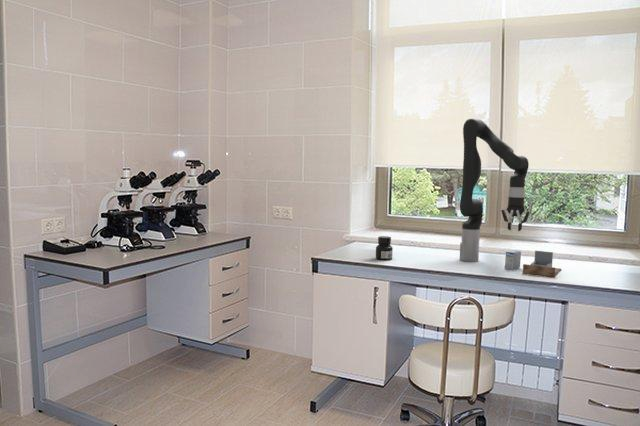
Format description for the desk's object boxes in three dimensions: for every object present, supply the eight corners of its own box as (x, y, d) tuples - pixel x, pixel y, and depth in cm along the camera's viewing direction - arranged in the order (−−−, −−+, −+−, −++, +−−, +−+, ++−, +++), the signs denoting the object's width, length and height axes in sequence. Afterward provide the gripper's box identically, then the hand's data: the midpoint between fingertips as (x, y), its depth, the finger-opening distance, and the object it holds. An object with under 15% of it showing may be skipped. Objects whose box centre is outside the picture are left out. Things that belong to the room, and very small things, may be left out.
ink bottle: (383, 261, 278) (384, 238, 276) (371, 258, 284) (372, 236, 283) (396, 259, 284) (396, 237, 283) (383, 257, 291) (384, 235, 289)
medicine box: (511, 266, 270) (512, 249, 269) (520, 268, 267) (521, 251, 266) (504, 268, 264) (505, 251, 263) (513, 270, 261) (514, 252, 260)
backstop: (522, 273, 252) (523, 264, 252) (531, 266, 272) (532, 257, 271) (554, 277, 245) (554, 268, 244) (561, 269, 264) (561, 260, 264)
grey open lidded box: (529, 272, 252) (530, 253, 251) (534, 268, 262) (535, 250, 261) (547, 274, 247) (549, 255, 247) (551, 270, 258) (552, 252, 257)
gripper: (500, 195, 262) (498, 230, 264) (530, 197, 255) (528, 232, 257) (503, 195, 269) (501, 228, 271) (533, 196, 261) (531, 231, 263)
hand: (514, 230), depth 264 cm, fingers open, 4 cm apart
